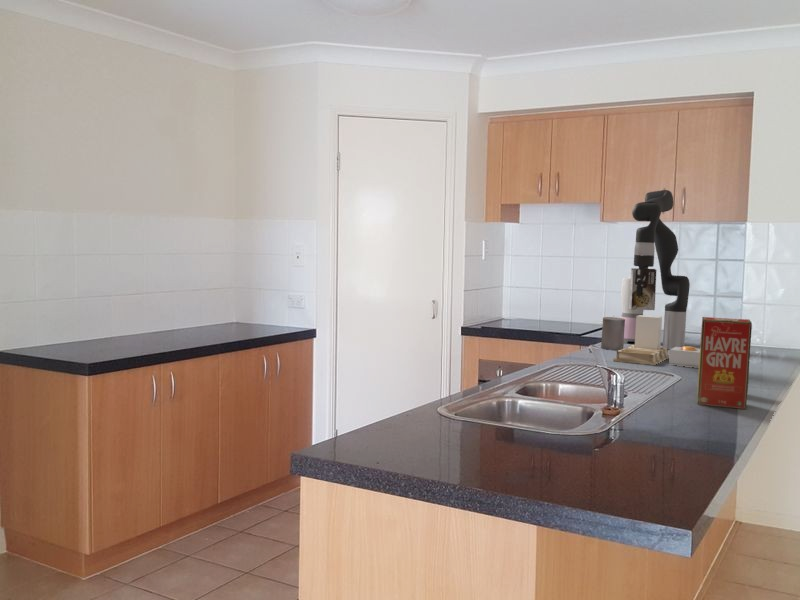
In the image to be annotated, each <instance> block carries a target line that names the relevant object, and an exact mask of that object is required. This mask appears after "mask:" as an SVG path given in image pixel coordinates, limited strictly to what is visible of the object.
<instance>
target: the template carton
mask: <svg viewBox="0 0 800 600" xmlns="http://www.w3.org/2000/svg"><path fill="white" fill-rule="evenodd" d="M662 323H663V316H655V315H646V314H645V315H644V314H643V315H639V316H636V331H635V342H634V345H635V348H641V349H652V350H660V347H662V346H661V343H662V342H661V341H662V326H663V324H662Z"/></svg>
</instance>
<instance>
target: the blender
mask: <svg viewBox="0 0 800 600" xmlns="http://www.w3.org/2000/svg"><path fill="white" fill-rule="evenodd" d="M630 286H631V274H630V275H629V274H628V277H623V278H622V282H621V290H620V291H621V292H620V293H621V295H620V302H621V303H620V304H621V310H622V311H621V315H620V318H624V319H625V329H624V344H628V342H634V343H635V331H636V316H639V315H644V311H645V310H632V309H630V308H629V307H630Z"/></svg>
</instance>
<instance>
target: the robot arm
mask: <svg viewBox="0 0 800 600" xmlns="http://www.w3.org/2000/svg"><path fill="white" fill-rule="evenodd" d="M644 195H645V196H644V201H642V202H638V203H637V202H636V204H635V205H634V206H633V208H632V213H631V214H632V218H633V219H634V220H635V221H637V222H649V224H648V225H647V226H641V227H638V228H637V229H636V231H635V233H636V234H635V245H634V251H633V253H634V256H633V266H634V267H638V268H637V269H636V275H635V285H636V286H637V290H636V296H642V293H643V284H644V282H645V280H646V279H645V278H646V276H644V269H649V268H652V267H654V264H655V252H656V255H657V259H658V264H659V272H660V279H661V288H662V292H663V293H664V294H665V295H666V296H669V297H671V296H672V297H676V299H675V301H673V302H669V303H666V304H665V306H664V318H663V319H664V320H663V337H662V348H668V350H670V349H672V348H674V347H683V346H685V345H686V343H685V341H686V339H685V338H686V328H687V327H686V325H687V324H686V323H687V309H688V306H689V305H688V304H689V295H690V294H689V293H690V288H691V287H690V279H689V277H688V276H687V275H686V276H685V275H677V274H676V275H673V274H672V264H673V262H674V261H675V260H676V257H677V255H678V253H679V246H678V245H679V244H678V240H677V236H676V234H675V232H673V230H672V229H670V227H669V226H667V225H666V224H665V223H664V222H663V221H662V220H661V218H660V217H661V214H662V213H665V212H669V211H671V210H672V209H673V208H674V196H673V193H672V191H671V190H669V189H663V190H654V191H649V192H647V193H645V194H644ZM638 275H640V276H638ZM643 276H644V278H643V279H642V277H643ZM638 278H639V279H638ZM638 281H640V282H638Z"/></svg>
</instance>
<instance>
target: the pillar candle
mask: <svg viewBox="0 0 800 600" xmlns="http://www.w3.org/2000/svg"><path fill="white" fill-rule="evenodd" d="M624 329H625V319H624V318H621V317H616V316H603V317H602V328H601V343H600V349H602V350H606V351H607V350H608V351H609V350H610V351H619V350H621V349H624V344H625V343H624Z"/></svg>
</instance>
